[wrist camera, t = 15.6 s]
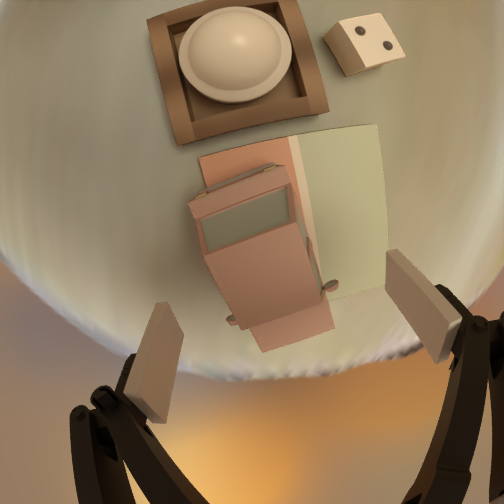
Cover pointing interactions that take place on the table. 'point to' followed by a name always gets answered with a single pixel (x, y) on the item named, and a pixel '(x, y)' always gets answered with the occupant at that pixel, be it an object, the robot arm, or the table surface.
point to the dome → (235, 55)
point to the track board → (327, 197)
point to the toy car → (263, 257)
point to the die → (363, 43)
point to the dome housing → (246, 115)
